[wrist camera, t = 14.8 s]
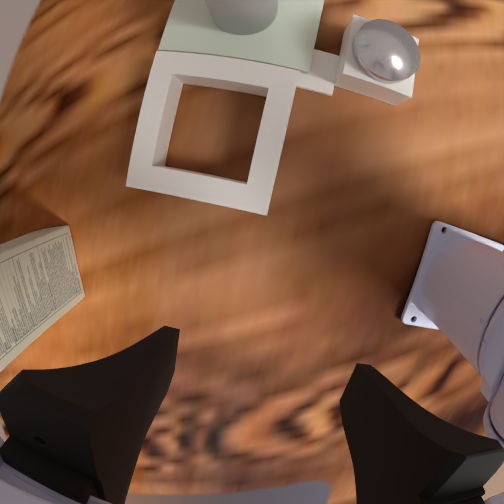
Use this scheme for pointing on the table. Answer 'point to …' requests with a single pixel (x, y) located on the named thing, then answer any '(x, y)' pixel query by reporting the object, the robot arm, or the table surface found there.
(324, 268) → the table surface
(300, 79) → the holder
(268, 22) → the cartridge
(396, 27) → the plunger
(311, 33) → the pad
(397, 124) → the table surface
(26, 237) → the skincare box
